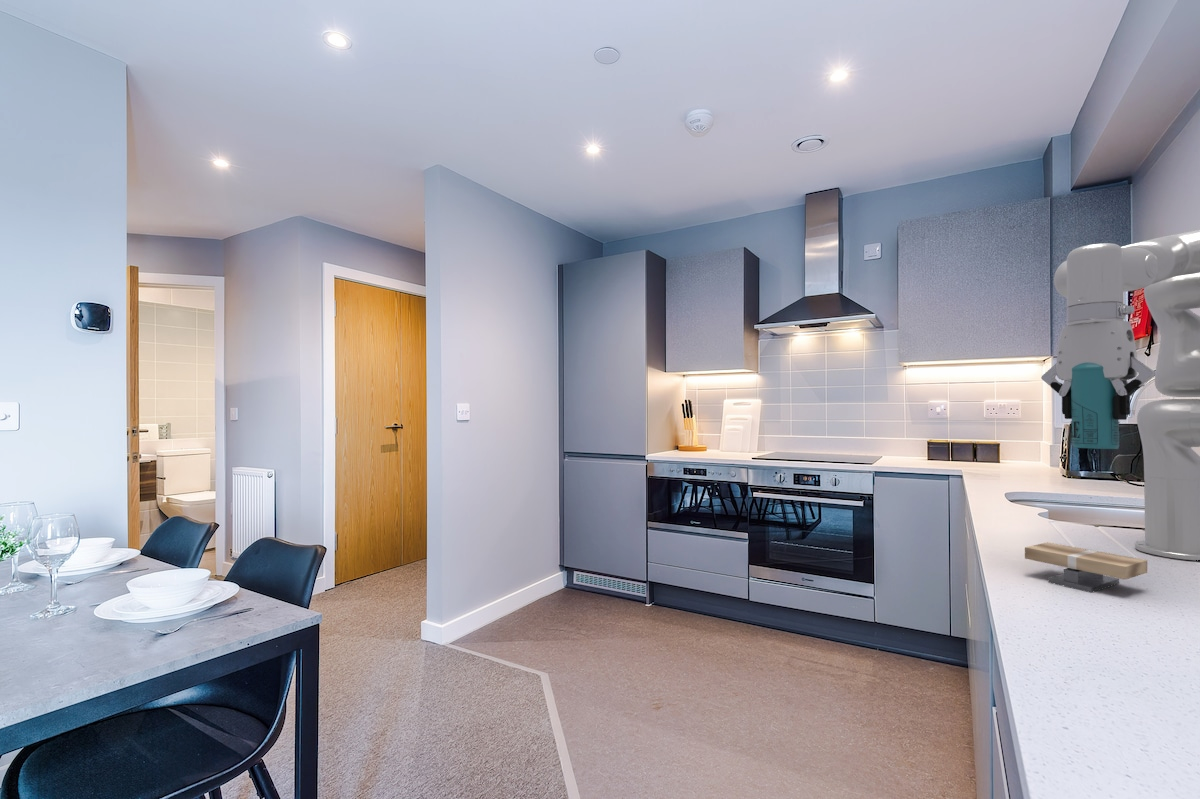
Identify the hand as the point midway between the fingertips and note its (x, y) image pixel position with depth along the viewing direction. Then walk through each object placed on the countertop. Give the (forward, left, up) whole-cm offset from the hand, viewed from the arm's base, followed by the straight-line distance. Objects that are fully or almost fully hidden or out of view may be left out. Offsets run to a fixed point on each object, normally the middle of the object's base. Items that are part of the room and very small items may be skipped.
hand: (1094, 418), depth 99 cm
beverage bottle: (0, 0, -7) cm, 7 cm away
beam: (+4, 0, -25) cm, 25 cm away
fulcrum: (+4, 0, -28) cm, 28 cm away
